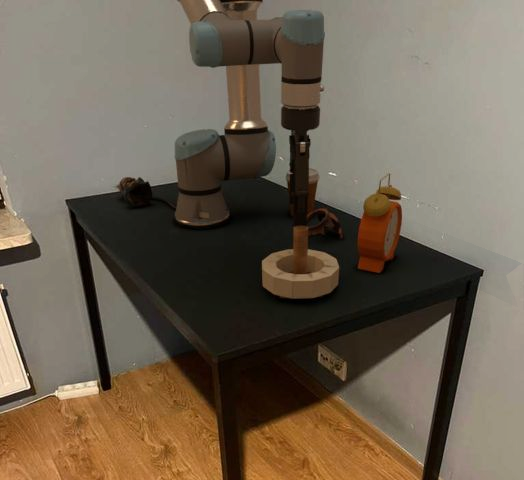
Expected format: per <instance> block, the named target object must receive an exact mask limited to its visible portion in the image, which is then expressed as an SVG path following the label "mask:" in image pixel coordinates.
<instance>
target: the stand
mask: <svg viewBox="0 0 524 480" xmlns="http://www.w3.org/2000/svg"><path fill="white" fill-rule="evenodd" d="M292 237H293V238H292V239H293V241H292V249H293V271H292V272H290V273H291V274H311V272H307V256H308V249H309V236H308V227H306V226H293V236H292ZM317 298H324V295H322V296H318V297H317ZM279 299H288V298H287V297H283V296H279Z"/></svg>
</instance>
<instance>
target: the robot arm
mask: <svg viewBox="0 0 524 480" xmlns="http://www.w3.org/2000/svg"><path fill="white" fill-rule="evenodd" d="M176 1H177V2H179V4H180V6H181V7H182V10H183V11H184V14H185V16H186V18H187V20H188V23H189V24H190V27H189V31H188V40H189V41H188V42H189V43H188V44H189V52H190V56H191V60H192V62H193V64H194V65H195V66H197V67H201V68H203V67H204V68H212V69H214V68H219V67H220V68H221V67H225V76H226V77H225V78H226V91H227V93H226V94H227V107H228V121H227V123H226V124H225V125H224V126H223V129H224V134H219V132H218V130H216V129H212V128H207V129H204V128H203V129H197V130H192V131H189V132H186V133H182V134H181V135H180V136H177V138H176V139H175V141H174V160H175V166H176V177H177V186H178V197H177V202H176V205H174V204H173V203H172V202H170V200H168V199H166V198H163V197H160V196H159V197H158V196H152V198H151V199H150V200H157V201H161V202H164V203H166V204H167V205H168V206H170V208H172V209H174V210H175V212H174V222H175V224H176V225H177V226H179V227H182V228H185V229H190V230H207V229H214V228H218V227H220V226H223V225H225V224H227V223H228V222H229V221H230V211H229V208H228V206H227V203H226V200H225V198H224V194H223V192H222V182H225V181H235V180H244V179H257V178H262V177H263V178H264V177H266V176H268V175H270V173H272V171H273V168H274V166H275V164H276V163H275V161H276V155H277V142H276V136H275V134H274V132H273V131H271V130H269V125H268V123H267V122H266V121H265V120H264V119H263V117H262V97H261V74H260V73H261V71H260V65H273V64H280V65H281V76H280V78H281V80H280V103H281V104H282V106H281V108H280V126H281V127H282V128H283V129H285V130H288V131H291V132H290V134H289V136H288V143H289V163H288V166H289V170H290V173H292V174H290V192H289V194H288V203H289V205H290V204H294V211H293V216H292V226H293V227H295V226H308V223H307V203H308V196H309V168H310V157H311V156H310V154H311V153H310V148H311V144H312V143H311V141H312V140H311V138H310V134H308V132H309V131H313V130H316V129H318V128H319V126H320V122H321V121H320V120H321V107H320V105H319V104H320V103H321V98H322V97H321V95H322V94H321V92H324V91H325V86H324V85H322V80H323V79H322V78H323V77H322V75H323V63H324V62H323V61H324V60H323V59H324V44H325V43H324V42H325V37H326V33H325V17H324V13H323V12H322V11H320V10H316V9H315V10H314V9H313V10H312V9H292V10H287V11H285V12H284V13H283V14H282V16H281V17H280V16H279V17H278V16H276V17H273V18H270V19H258V13H259V10H260V9H261V7H262V6H263V4H264V1H263V0H176ZM118 185H119V183H118V184H117V186H118ZM302 189H305V190H302Z"/></svg>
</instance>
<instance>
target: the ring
mask: <svg viewBox="0 0 524 480" xmlns="http://www.w3.org/2000/svg"><path fill="white" fill-rule="evenodd" d="M337 259H338V258H336V257H334V256H332V255H331V254H328V253H326V252H325V251H319V250H314V249H309V248H308V256H307V273H311V274H291V273H292V272H293V248H289V249H284V250H280V251H276V252H272V253H270V254H269V255H267V256H266V257H265V258H264V259H262V260H261V278H262V279H261V280H262V281H261V282H262V287H263V288H264V289H266V290H267V291H268V292H270V293H271V294H273V295H274V296H278V297H280V296H283V297H287V298H286V299H291V300H292V299H315V298H319V297H318V296H322V295H323V296H324V295H328V294H330V293H332V292H333V291H334V290H335V289H336V288H337V286H338V285H339V276H340V265H339V262H338V260H337Z"/></svg>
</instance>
